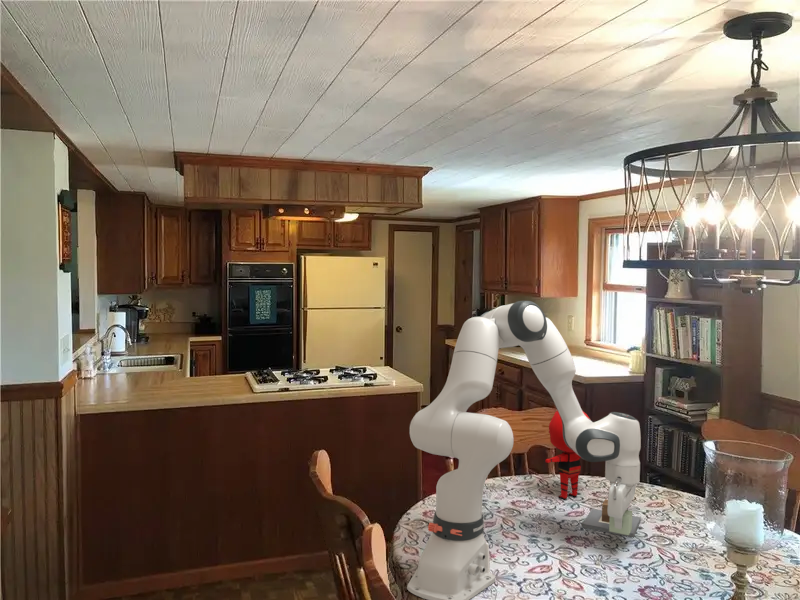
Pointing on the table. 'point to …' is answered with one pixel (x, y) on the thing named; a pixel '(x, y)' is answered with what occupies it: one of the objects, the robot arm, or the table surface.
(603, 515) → the walnut block
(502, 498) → the table surface
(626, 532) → the sage block
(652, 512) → the table surface
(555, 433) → the toy
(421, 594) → the robot arm
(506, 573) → the table surface
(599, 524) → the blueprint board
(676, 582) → the table surface
